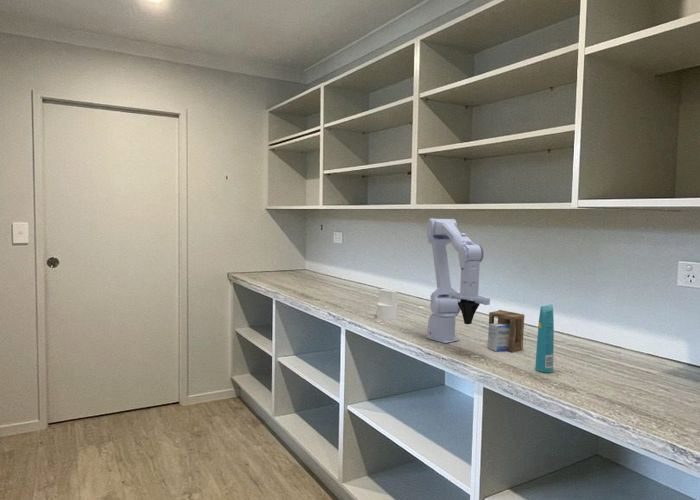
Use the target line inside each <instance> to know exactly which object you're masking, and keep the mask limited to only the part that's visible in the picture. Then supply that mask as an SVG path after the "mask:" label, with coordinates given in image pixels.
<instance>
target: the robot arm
mask: <svg viewBox="0 0 700 500" xmlns="http://www.w3.org/2000/svg"><path fill="white" fill-rule="evenodd" d="M425 229H426V235H427V236H426V238H427V243H429V244H431V248H432V256H433V263H434V271H435V281H436V289H435V290H434V291H433V292H432V293H431V294H430V304H429V305H430V307H429V308H430V311H431V314H430V316H429V317H428V322H427V335H426V336H425V338H426V339H429V340H433V341H436V342H439V343H444V344H448V343H453V342H458V341H460V340H461V339H460V338H458V337H455V336H456V319H457V318H456V317H458V315H459V313H460V312H461V315H462V319H463V323H464V325H471V324H472V323H473V320H474V316H475V314H476V312H477V310H478V308H479V307H480V304H481V305H483V306H488V305H489V306H491V298H489V297H485V296H482V295H481V296H480V295H479V288H480V287H479V285H480V284H479V283H480V263H482V262H483V259H484V254H485V253H484V248H483V246H482V245H481V244H478V243H474V242H473V241H472V240H471V239H470V238H469V237H468V235H467V233H465V232H464V233H463V232H460V231H459V229H458V223H457V221H456V219H455V218H432V217H430V218H429V219H428V220H427V224H426V228H425ZM448 244H451V245H452V247H453V248H454V249H455V251H456V252H457V255H458V261H459V267H460V288H459V292H458V291H456V289H454V288H453V287H452V284H451V283H452V282H451V276H450V269H449V261H448V260H449V259H448V254H447V245H448Z"/></svg>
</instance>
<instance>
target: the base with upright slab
mask: <svg viewBox="0 0 700 500" xmlns="http://www.w3.org/2000/svg"><path fill="white" fill-rule="evenodd" d="M398 308H399V304H398V290H392V289H387V288H379V289H378V302H377V304H376V318H377V319H378V318H379V320H383V319H384V320H386V321H391V320H397V319H398V316H399V315H398V314H399V313H398V311H399V309H398ZM384 320H383V321H384Z"/></svg>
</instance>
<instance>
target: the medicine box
mask: <svg viewBox="0 0 700 500" xmlns="http://www.w3.org/2000/svg"><path fill="white" fill-rule="evenodd" d="M515 332H516V325H515ZM488 333H489V336H488V335H487V337H488V339H487V349H489V350H491V351H494V352H499V353H500V352H505V351H506V352H507V351H508V352H509V336H510V323H498V322H497V323H495V322H494V324H489V323H488Z"/></svg>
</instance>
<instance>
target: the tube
mask: <svg viewBox="0 0 700 500" xmlns="http://www.w3.org/2000/svg"><path fill="white" fill-rule="evenodd" d="M539 310H540V311H539V316H538V317H539V318H538V328H537V340H536V354H535V365H534V367H535V371H537V372H539V371H540V372H539V373H552V372H554V343H555V342H554V341H555V340H554V336H555V335H554V333H555V332H554V330H555V328H554V322H555V321H554V306H553V304H552V303H551V304H547V305H542V306H540V309H539Z"/></svg>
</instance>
